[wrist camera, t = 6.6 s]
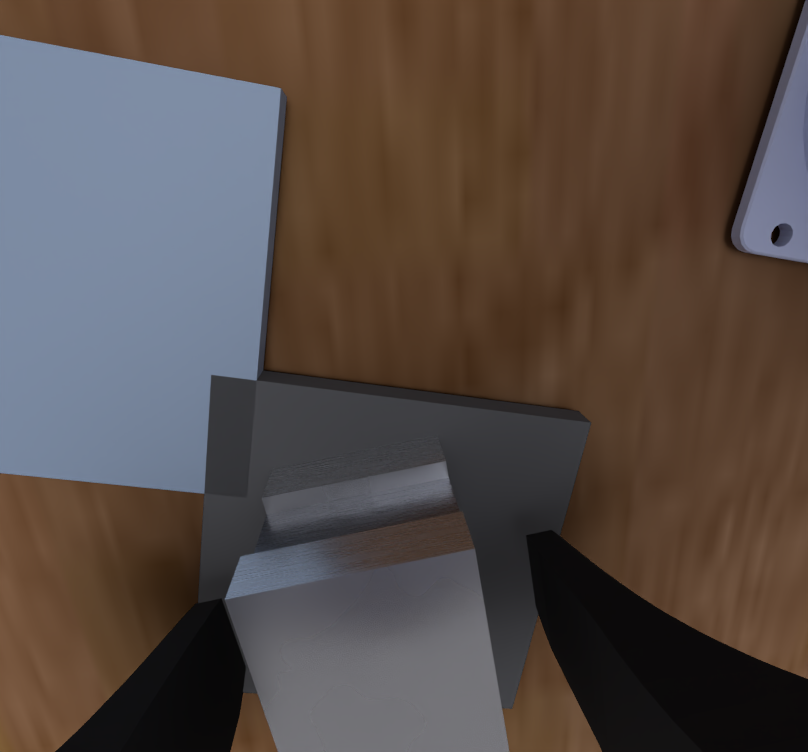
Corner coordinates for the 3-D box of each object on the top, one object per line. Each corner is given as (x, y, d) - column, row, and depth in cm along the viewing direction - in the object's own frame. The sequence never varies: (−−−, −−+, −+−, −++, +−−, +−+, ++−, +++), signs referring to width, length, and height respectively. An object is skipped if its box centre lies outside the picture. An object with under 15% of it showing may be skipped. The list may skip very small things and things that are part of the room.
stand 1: (287, 97, 11) (281, 88, 10) (253, 482, 13) (246, 497, 13) (-194, 7, 10) (-241, -11, 9) (-134, 441, 12) (-167, 456, 12)
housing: (472, 632, 14) (519, 810, 10) (329, 663, 14) (314, 854, 10) (437, 434, 13) (475, 548, 8) (272, 467, 12) (224, 600, 8)
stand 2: (578, 411, 14) (591, 422, 13) (505, 685, 16) (512, 708, 15) (220, 365, 12) (211, 374, 12) (201, 665, 15) (193, 689, 14)
